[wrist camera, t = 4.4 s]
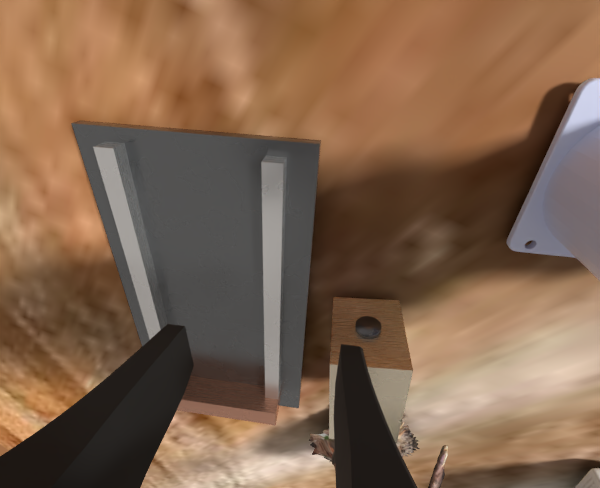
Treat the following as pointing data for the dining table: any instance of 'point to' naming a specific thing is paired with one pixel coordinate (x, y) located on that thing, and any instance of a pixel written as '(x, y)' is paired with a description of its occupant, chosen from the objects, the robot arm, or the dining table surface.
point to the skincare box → (590, 479)
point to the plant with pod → (404, 444)
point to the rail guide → (213, 252)
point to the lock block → (374, 352)
